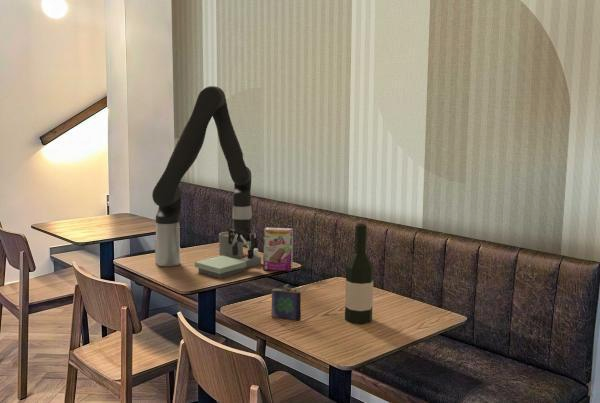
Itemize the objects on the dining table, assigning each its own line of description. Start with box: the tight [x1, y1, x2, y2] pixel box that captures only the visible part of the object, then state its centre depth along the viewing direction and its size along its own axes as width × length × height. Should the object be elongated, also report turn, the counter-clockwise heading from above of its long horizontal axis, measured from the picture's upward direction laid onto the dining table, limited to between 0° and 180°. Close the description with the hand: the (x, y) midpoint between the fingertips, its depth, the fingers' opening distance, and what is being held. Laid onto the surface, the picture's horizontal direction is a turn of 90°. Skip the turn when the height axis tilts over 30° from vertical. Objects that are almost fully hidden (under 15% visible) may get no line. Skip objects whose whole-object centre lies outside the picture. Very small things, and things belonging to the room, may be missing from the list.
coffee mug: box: [218, 231, 245, 259], centre depth 259 cm, size 13×10×10 cm
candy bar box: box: [262, 226, 294, 272], centre depth 239 cm, size 11×5×16 cm, turn 84°
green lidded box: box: [194, 255, 246, 279], centre depth 235 cm, size 14×14×4 cm
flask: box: [271, 283, 302, 322], centre depth 185 cm, size 9×3×11 cm, turn 72°
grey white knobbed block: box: [238, 248, 262, 269], centre depth 245 cm, size 4×12×6 cm, turn 141°
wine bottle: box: [344, 221, 375, 325], centre depth 183 cm, size 8×8×30 cm
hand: (243, 256), depth 242 cm, fingers open, 8 cm apart
